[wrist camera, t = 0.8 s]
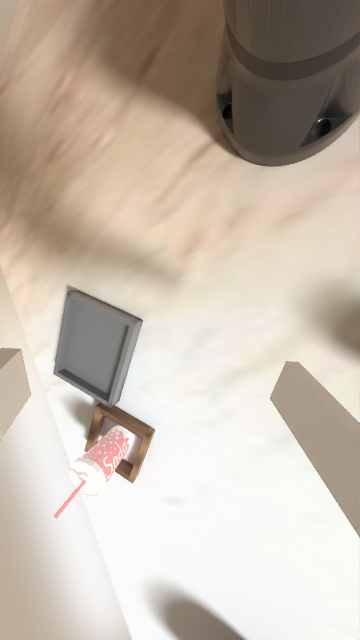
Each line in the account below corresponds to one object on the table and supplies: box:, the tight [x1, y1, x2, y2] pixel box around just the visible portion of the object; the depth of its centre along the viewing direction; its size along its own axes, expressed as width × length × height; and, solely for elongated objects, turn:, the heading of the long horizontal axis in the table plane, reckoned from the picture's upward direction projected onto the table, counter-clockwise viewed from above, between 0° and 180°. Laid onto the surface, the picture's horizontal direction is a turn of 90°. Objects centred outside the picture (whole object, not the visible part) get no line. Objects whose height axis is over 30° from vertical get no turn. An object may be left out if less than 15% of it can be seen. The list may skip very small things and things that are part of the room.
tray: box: [53, 291, 143, 408], centre depth 36 cm, size 16×13×2 cm
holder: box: [85, 402, 155, 483], centre depth 38 cm, size 11×11×2 cm
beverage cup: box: [54, 426, 132, 518], centre depth 32 cm, size 6×6×14 cm
